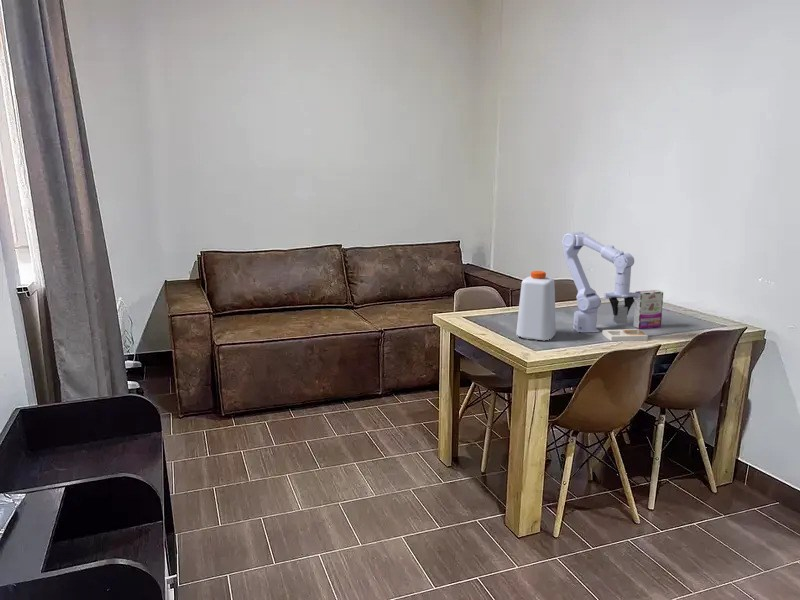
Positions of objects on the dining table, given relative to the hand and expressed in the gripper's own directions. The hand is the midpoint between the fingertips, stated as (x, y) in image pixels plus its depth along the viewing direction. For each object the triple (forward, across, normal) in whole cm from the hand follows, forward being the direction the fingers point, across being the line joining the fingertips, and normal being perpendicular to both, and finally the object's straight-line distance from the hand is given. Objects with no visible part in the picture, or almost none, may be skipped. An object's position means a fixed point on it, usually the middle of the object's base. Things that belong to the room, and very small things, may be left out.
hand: (620, 314), depth 252 cm
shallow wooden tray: (+10, +3, 0) cm, 10 cm away
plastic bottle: (+10, -34, +5) cm, 36 cm away
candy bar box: (+10, +19, +15) cm, 26 cm away
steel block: (+3, 0, 0) cm, 3 cm away
